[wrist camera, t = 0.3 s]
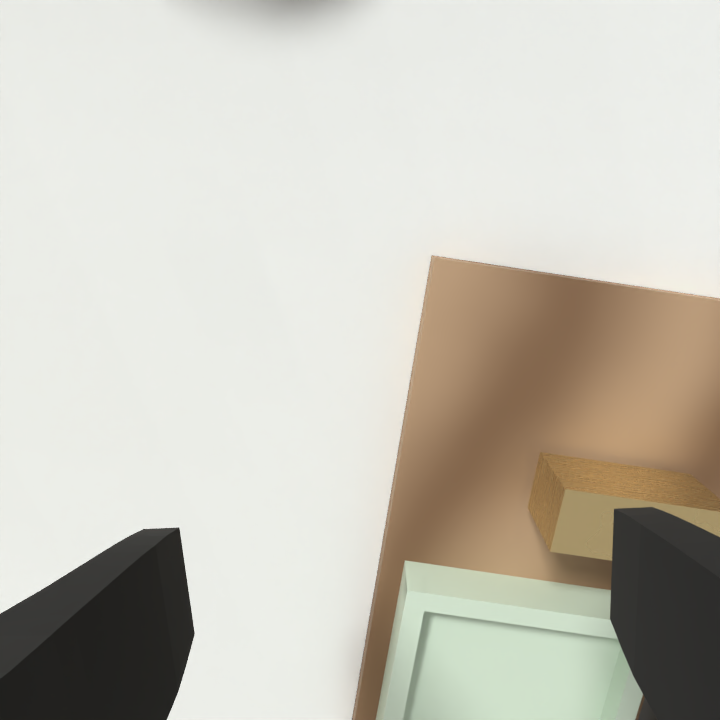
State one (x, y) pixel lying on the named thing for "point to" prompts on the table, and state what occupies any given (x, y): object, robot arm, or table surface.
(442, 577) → the tray
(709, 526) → the tan rectangular block
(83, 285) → the table surface
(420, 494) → the board
